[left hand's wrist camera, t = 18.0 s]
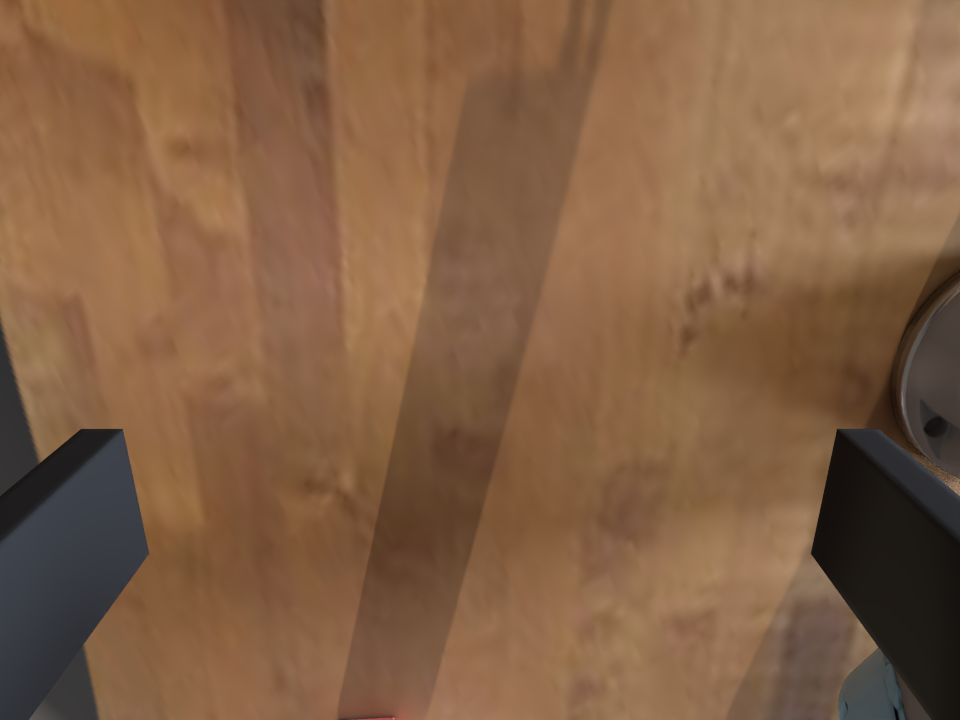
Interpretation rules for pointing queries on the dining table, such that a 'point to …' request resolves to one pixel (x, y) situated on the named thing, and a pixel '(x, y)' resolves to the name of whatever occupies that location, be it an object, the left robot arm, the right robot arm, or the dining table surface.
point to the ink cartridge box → (376, 719)
